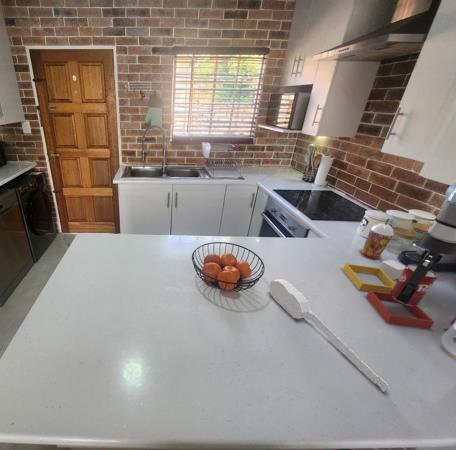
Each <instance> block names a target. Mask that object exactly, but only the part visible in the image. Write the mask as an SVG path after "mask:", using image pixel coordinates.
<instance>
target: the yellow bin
mask: <svg viewBox="0 0 456 450" xmlns="http://www.w3.org/2000/svg"><path fill="white" fill-rule="evenodd" d="M342 271H343V272H344V274H346V276H347V277H348V278H349V279H350V281H351V282H352V283H353V284H354V286H355V287H356V288H357V289H358V290H359V291H364V292H369V291H378V292H385V293H390V292H391V290H392V288H393V287H394V285H395V283H396V282H395V281H394V280H392V279H391V278H390V277H389V276H388V275H387V274H386V273H384V272H383V271H382V270H381V269H380V268H379V267H374V266H368V265H361V264H351V263H345V264H344V266H343V268H342ZM356 273H360V274H367V275H374V276H376V277H377V278H378V279H379V280H380V281H381V282H382V283H383V284H384V285H383V284H376V283H367V282H364V281H362V279H361V278H360V277H359V275H357V274H356Z"/></svg>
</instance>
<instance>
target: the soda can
mask: <svg viewBox="0 0 456 450" xmlns="http://www.w3.org/2000/svg"><path fill="white" fill-rule="evenodd" d="M405 266H406V267H405V269H404V270H403V272H402V274H401V275H400V277H399V279H396V282H395V285H394V287H393V288H392V290H391V292H390V294H391V296H392V297H393V298H394V299H395V300H396V298H397V297H398V295H399V294H400V292H401V290H402V289H403V287H404V286H405V284H403V282H407V281H408V280H409V278H410V277H411V275H412V274H413V272H414V271H415V269H416V268H417V266H418V265H417V263H416V264H415V263H410V264H408V265H405ZM437 280H438V275H437V272H436V271H433V269H432V270H429V271H428V272H427V274H426V275H425V277H424V278H423V280H422V281H421V282H420V284H419V285H418V288H417V290H416V291H415V293H414V294H413V296H412V297H411V299H410V300H409V302H408V303H407V304H405V303H403V302H401V301H398V300H397V301H398V302H400V303H399V304H402V305H403V304H405V305H409V306H419V305H420V304H421V302H422V301H423V299H424V297H426V295H427V293H428V292H429V291H430V290H431V287H433V285H434V284H435V282H436V281H437Z"/></svg>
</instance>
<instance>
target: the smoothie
mask: <svg viewBox="0 0 456 450" xmlns="http://www.w3.org/2000/svg"><path fill="white" fill-rule="evenodd" d="M389 221H390V218H387V219H386V221H385V222H379V223H376V224H374V225H373V226H371V227H370V229H369V232H368V235H367V237H366V240H365V241H364V245H363V247H362V249H361V252H362V253H361V254H362V256H364V257H365V258H368V259H372V260H376V259H378V258H379V257H381V255H382V254H383V252H384V250H385V249H386V247H387V246H388V244H389V243H390V242H391V240H392V238H393V237H394V236H395V232H394V229H393V227H392V226H391V225H390V224H388V223H389Z"/></svg>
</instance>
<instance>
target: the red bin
mask: <svg viewBox="0 0 456 450" xmlns="http://www.w3.org/2000/svg"><path fill="white" fill-rule="evenodd" d="M365 298H366V299H367V300H368V301H369V303H370V304H371V305H372V306H373V307H374V309H375V310H376V311H377V313H379V315H380V316H381V317H382V318H383V320H384V321H385V322H386V323H387V324H393V325H399V326H406V327H413V328H419V329H425V330H430V329H431V328H432V327H433V325H434V324H435V321H434V320H433V319H432V318H431V317H430V316H429V315H428V314H427V313H426V312H425V311H424V310H423V309H421V307H420V306H419V305H417V306H409V305H405V304H403V303H402V305H404V307H405V308H406V309H407V310H408V311H409V312H410V313H411V314H412V315H413V316H414V317H412V316H404V315H398V314H393V313H391V311H390V310H389V309H388V308H387V306H385V304H384V303H383V302H382V301H385V302H392V303H396V304H397V303H398V304H401V303H400V302H398V301H397V300H395V299H394V298H393V297H392V296H391V294H390V293H385V292H378V291H368V293H367V294H366V297H365Z"/></svg>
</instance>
